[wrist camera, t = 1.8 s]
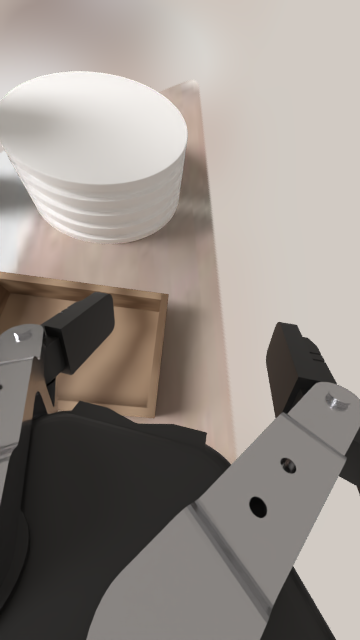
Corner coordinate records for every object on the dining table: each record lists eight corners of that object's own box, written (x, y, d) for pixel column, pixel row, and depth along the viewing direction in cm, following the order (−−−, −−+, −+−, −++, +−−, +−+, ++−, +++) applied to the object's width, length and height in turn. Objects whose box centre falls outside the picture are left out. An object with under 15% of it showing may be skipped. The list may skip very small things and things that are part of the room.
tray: (-40, 400, 27) (-78, 398, 23) (9, 289, 34) (-13, 269, 29) (153, 416, 30) (154, 418, 25) (166, 309, 36) (168, 294, 31)
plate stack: (205, 212, 45) (222, 152, 35) (73, 268, 37) (42, 211, 26) (135, 132, 52) (131, 62, 42) (9, 164, 43) (-36, 85, 33)
